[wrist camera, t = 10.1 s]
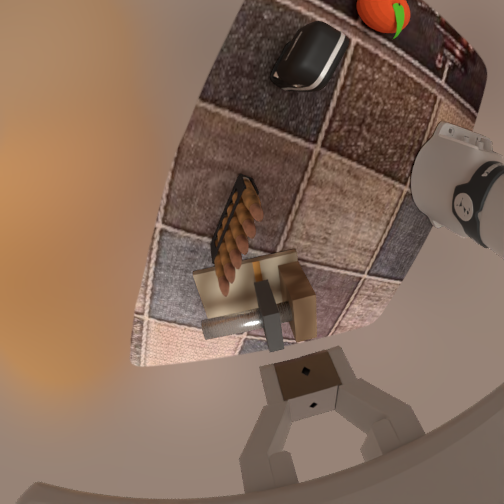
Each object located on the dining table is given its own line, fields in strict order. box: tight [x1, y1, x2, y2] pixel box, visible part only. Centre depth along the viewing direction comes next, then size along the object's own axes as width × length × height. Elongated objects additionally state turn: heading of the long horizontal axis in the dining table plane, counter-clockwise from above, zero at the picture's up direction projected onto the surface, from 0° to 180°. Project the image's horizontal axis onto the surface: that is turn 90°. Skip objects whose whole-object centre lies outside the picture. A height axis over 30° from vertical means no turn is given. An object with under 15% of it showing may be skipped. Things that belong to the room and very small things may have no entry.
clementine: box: [357, 0, 410, 39], centre depth 23 cm, size 8×7×7 cm
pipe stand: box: [193, 249, 317, 343], centre depth 41 cm, size 15×11×9 cm
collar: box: [254, 279, 284, 352], centre depth 39 cm, size 2×7×7 cm, turn 9°
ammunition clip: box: [211, 174, 263, 297], centre depth 33 cm, size 11×2×12 cm, turn 157°
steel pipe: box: [201, 301, 293, 340], centre depth 39 cm, size 14×3×3 cm, turn 99°
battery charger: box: [270, 21, 349, 92], centre depth 24 cm, size 7×4×11 cm, turn 155°
